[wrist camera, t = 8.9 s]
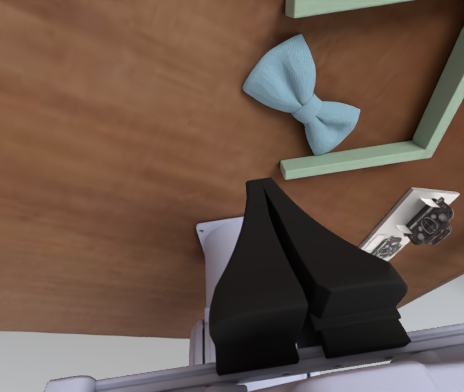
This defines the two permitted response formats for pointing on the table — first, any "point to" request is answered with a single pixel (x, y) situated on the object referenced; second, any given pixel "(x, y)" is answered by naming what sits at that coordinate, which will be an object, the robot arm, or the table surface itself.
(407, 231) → the grey board with parts
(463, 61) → the bay
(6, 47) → the table surface
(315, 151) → the bow tie
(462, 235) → the table surface
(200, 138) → the table surface
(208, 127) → the table surface
